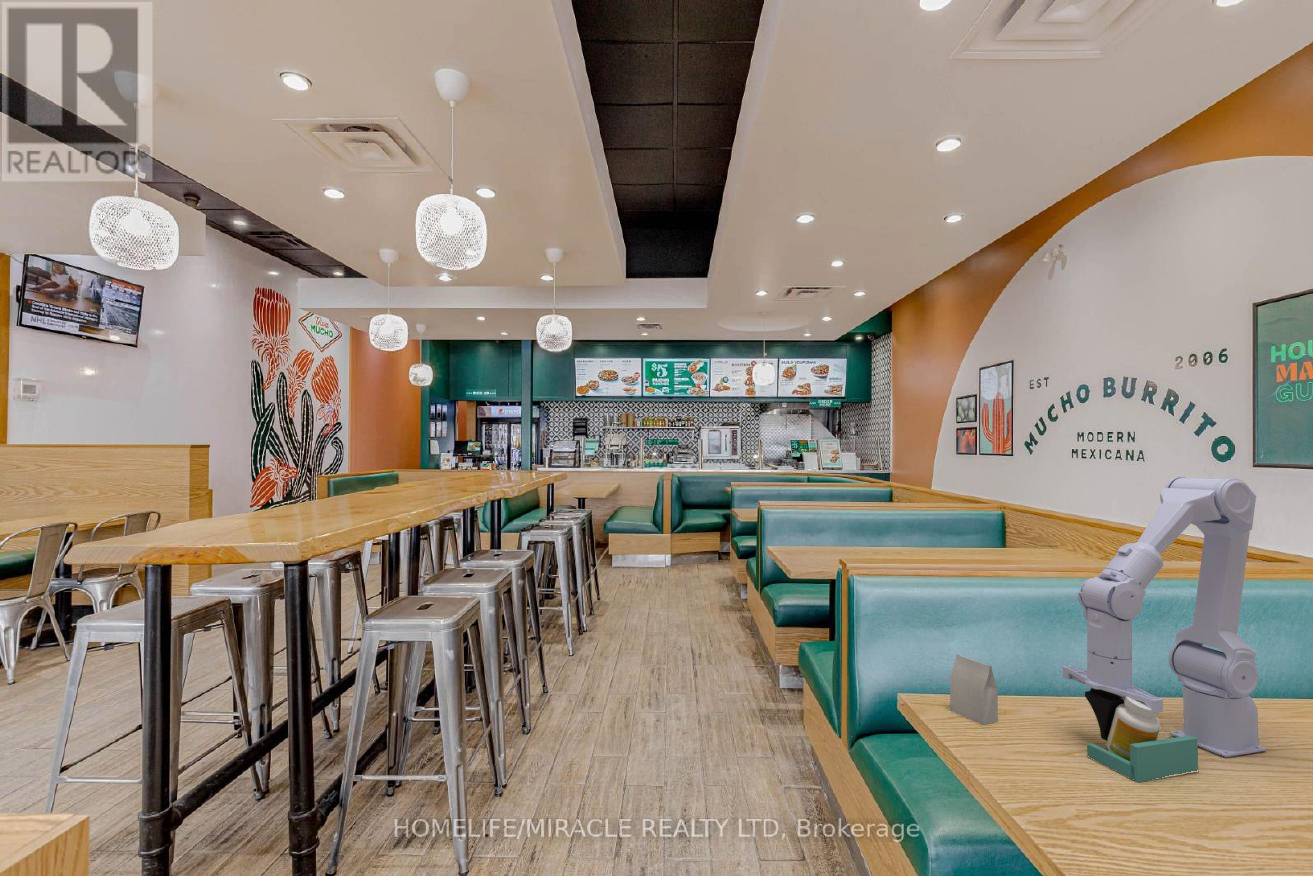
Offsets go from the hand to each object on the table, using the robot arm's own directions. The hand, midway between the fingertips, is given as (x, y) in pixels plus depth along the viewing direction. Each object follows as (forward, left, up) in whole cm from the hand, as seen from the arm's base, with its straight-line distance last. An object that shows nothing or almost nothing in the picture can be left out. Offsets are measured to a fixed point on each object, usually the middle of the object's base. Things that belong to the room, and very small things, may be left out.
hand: (1109, 739), depth 93 cm
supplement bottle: (0, +3, -1) cm, 3 cm away
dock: (0, +4, -2) cm, 5 cm away
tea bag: (+12, -16, -2) cm, 20 cm away
